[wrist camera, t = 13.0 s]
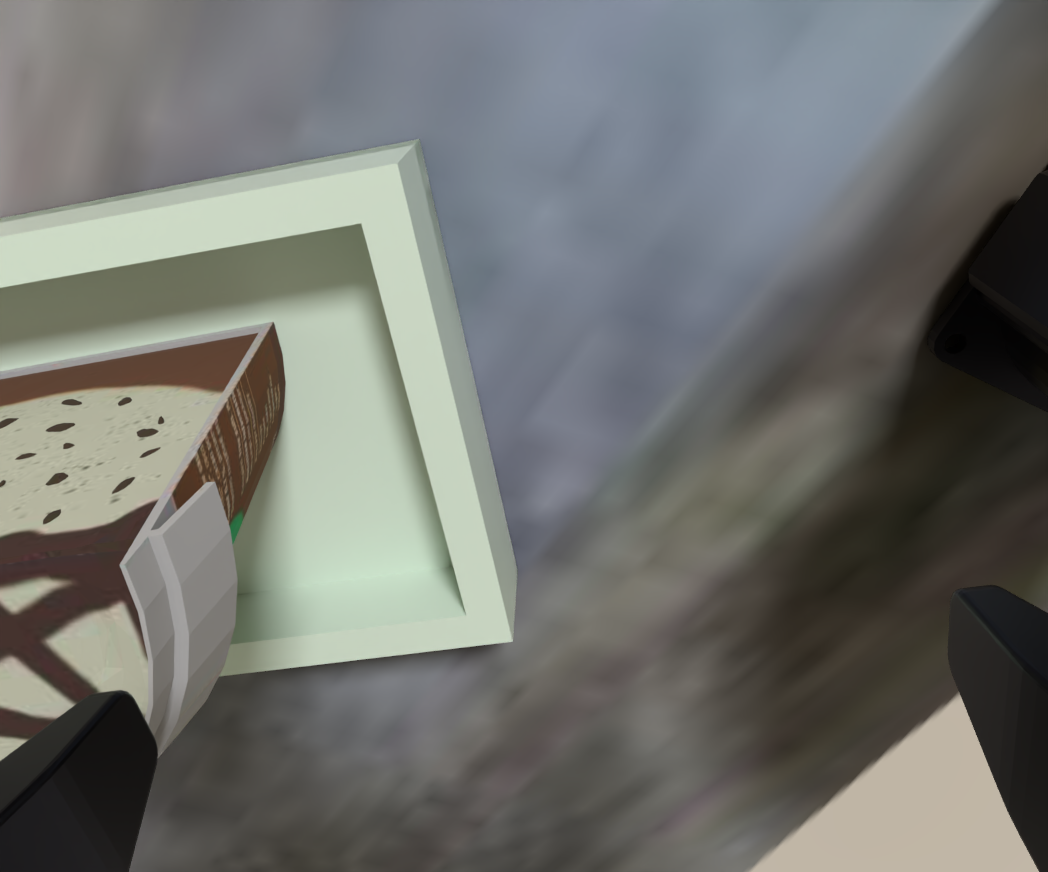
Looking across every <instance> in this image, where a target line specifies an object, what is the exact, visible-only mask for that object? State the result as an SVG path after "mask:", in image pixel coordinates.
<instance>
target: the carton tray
mask: <svg viewBox="0 0 1048 872" xmlns="http://www.w3.org/2000/svg"><path fill="white" fill-rule="evenodd" d="M269 322H274V324H275V328H276V332H277V335H278V339H279V343H280V346H281V350H282V354H283V362H284V372H285V381H286V386H285V402H284V412H283V417H282V421H281V425H280V429H279V433H278V436H277V439H276V441H275V444H274V446H273V449H272V451H271V453H270V456H269V458H268V461H267V463H266V466H265V468H264V471H263V473H262V475H261V478H260V480H259V483H258V485H257V488H256V490H255V493H254V495H253V497H252V500H251V502H250V505H249V507H248V510H247V512H246V514H245V517H244V519H243V522H242V524H241V527H240V529H239V532H238V534H237V536H236V539H235V541H234V544H233V551H234V558H235V565H236V572H237V579H238V581H237V601H236V622H235V628H234V632H233V635H232V639H231V643H230V647H229V651H228V654H227V658H226V662H225V666H224V668H223V669H222V671H221V673H220V675H219V676H228V675H236V674H244V673H253V672H261V671H270V670H278V669H286V668H295V667H303V666H312V665H320V664H328V663H337V662H345V661H354V660H362V659H370V658H379V657H387V656H396V655H404V654H413V653H421V652H429V651H438V650H446V649H455V648H463V647H471V646H480V645H488V644H497V643H505V642H513V632H514V617H515V603H516V588H517V574H518V570H517V566H516V561H515V557H514V553H513V548H512V544H511V539H510V535H509V531H508V526H507V522H506V517H505V513H504V509H503V504H502V500H501V495H500V491H499V487H498V482H497V478H496V473H495V469H494V465H493V460H492V456H491V451H490V447H489V443H488V438H487V434H486V429H485V425H484V421H483V416H482V412H481V408H480V403H479V399H478V394H477V390H476V386H475V381H474V377H473V372H472V368H471V364H470V359H469V355H468V350H467V346H466V342H465V337H464V333H463V328H462V324H461V320H460V315H459V311H458V306H457V302H456V298H455V293H454V289H453V284H452V280H451V276H450V271H449V267H448V262H447V258H446V254H445V249H444V245H443V240H442V236H441V232H440V227H439V223H438V218H437V214H436V210H435V205H434V201H433V196H432V192H431V188H430V183H429V179H428V174H427V170H426V166H425V161H424V157H423V152H422V148H421V144H420V139H417V140H412V141H407V142H401V143H396V144H391V145H385V146H380V147H375V148H369V149H364V150H359V151H353V152H348V153H343V154H338V155H332V156H327V157H322V158H316V159H311V160H306V161H300V162H295V163H290V164H285V165H279V166H274V167H269V168H263V169H258V170H253V171H247V172H242V173H237V174H232V175H226V176H221V177H216V178H210V179H205V180H200V181H194V182H189V183H184V184H179V185H173V186H168V187H163V188H157V189H152V190H147V191H141V192H136V193H131V194H126V195H120V196H115V197H110V198H104V199H99V200H94V201H88V202H83V203H78V204H73V205H67V206H62V207H57V208H51V209H46V210H41V211H35V212H30V213H25V214H20V215H14V216H9V217H4V218H0V371H4V370H10V369H15V368H21V367H26V366H32V365H37V364H43V363H48V362H54V361H59V360H65V359H70V358H76V357H81V356H87V355H92V354H98V353H103V352H109V351H114V350H120V349H125V348H131V347H136V346H142V345H147V344H153V343H158V342H164V341H169V340H175V339H180V338H186V337H191V336H197V335H202V334H208V333H213V332H219V331H224V330H230V329H235V328H241V327H246V326H252V325H257V324H263V323H269Z"/></svg>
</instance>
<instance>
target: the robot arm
mask: <svg viewBox="0 0 1048 872" xmlns="http://www.w3.org/2000/svg"><path fill="white" fill-rule="evenodd" d="M968 275H969V279H968V280H967V281H966V283H965V284H964V285H963V287H962V288H961V290H960V291H959V292H958V294H957V295H956V296H955V298H954V299H953V301H952V302H951V303H950V305H949V306H948V307H947V309H946V310H945V312H944V313H943V314H942V316H941V317H940V318H939V320H938V321H937V323H936V324H935V325H934V327H933V328H932V329H931V332H930V334H929V336H928V346H929V349H930V351H931V352H932V353H933V354H934V355H935V356H936V357H937V358H939V359H940V360H941V361H942V362H945V363H947V364H949V365H951V366H953V367H955V368H957V369H959V370H961V371H963V372H965V373H967V374H969V375H972V376H974V377H976V378H978V379H980V380H982V381H984V382H986V383H988V384H990V385H992V386H994V387H997V388H999V389H1001V390H1003V391H1005V392H1007V393H1009V394H1011V395H1013V396H1015V397H1017V398H1019V399H1021V400H1024V401H1026V402H1028V403H1030V404H1032V405H1034V406H1036V407H1038V408H1040V409H1042V410H1044V411H1046V412H1048V170H1047V171H1044V172H1042V173H1039V174H1038V175H1037V176H1036V177H1035V178H1034V180H1033V181H1032V182H1031V184H1030V185H1029V187H1028V188H1027V189H1026V191H1025V192H1024V193H1023V195H1022V196H1021V198H1020V199H1019V200H1018V202H1017V203H1016V205H1015V206H1014V207H1013V209H1012V210H1011V211H1010V213H1009V214H1008V216H1007V217H1006V218H1005V220H1004V221H1003V222H1002V224H1001V225H1000V227H999V228H998V229H997V231H996V232H995V234H994V235H993V236H992V238H991V239H990V240H989V242H988V243H987V245H986V246H985V247H984V249H983V250H982V252H981V253H980V254H979V256H978V257H977V258H976V260H975V261H974V263H973V264H972V265H971V267H970V268H969V271H968ZM954 334H960V338H959V340H958V342H957V343H956V344H955V345H954V346H952V347H948V348H946V347H945V346H944V344H945V342H946V339H947V338H949V337H950V336H951V335H954ZM948 659H949V664H950V668H951V672H952V675H953V677H954V680H955V682H956V685H957V687H958V690H959V692H960V695H961V697H962V700H963V702H964V705H965V707H966V710H967V712H968V715H969V717H970V720H971V722H972V725H973V727H974V730H975V732H976V735H977V737H978V740H979V742H980V745H981V747H982V750H983V752H984V755H985V757H986V760H987V762H988V765H989V767H990V770H991V772H992V775H993V777H994V780H995V782H996V785H997V787H998V790H999V792H1000V794H1001V797H1002V799H1003V802H1004V804H1005V806H1006V808H1007V811H1008V812H1009V815H1010V817H1011V819H1012V821H1013V823H1014V825H1015V827H1016V829H1017V831H1018V833H1019V835H1020V837H1021V839H1022V841H1023V842H1024V844H1025V846H1026V848H1027V850H1028V852H1029V854H1030V856H1031V857H1032V859H1033V861H1034V863H1035V865H1036V867H1037V869H1038V870H1039V872H1048V613H1046V612H1045V611H1043V610H1041V609H1039V608H1037V607H1036V606H1034V605H1032V604H1030V603H1028V602H1027V601H1025V600H1023V599H1021V598H1019V597H1018V596H1016V595H1014V594H1012V593H1010V592H1009V591H1007V590H1005V589H1003V588H1001V587H999V586H995V585H987V586H978V587H970V588H962V589H958V590H956V591H955V592H954V593H953V595H952V597H951V601H950V616H949V636H948ZM157 760H158V747H157V743H156V739H155V737H154V735H153V733H152V731H151V729H150V727H149V725H148V724H147V722H146V720H145V718H144V716H143V714H142V712H141V710H140V708H139V706H138V704H137V702H136V700H135V699H134V697H133V696H132V695H131V694H130V693H129V692H127V691H123V690H115V691H107V692H99V693H94V694H91V695H88V696H86V697H85V698H84V699H82V700H81V701H80V702H78V703H77V704H76V705H74V706H73V707H72V708H70V709H69V710H68V711H66V712H65V713H64V714H62V715H61V716H60V717H58V718H57V719H56V720H54V721H53V722H52V723H50V724H49V725H47V726H46V727H45V728H43V729H42V730H41V731H39V732H38V733H37V734H35V735H34V736H33V737H31V738H30V739H29V740H27V741H26V742H25V743H23V744H22V745H21V746H19V747H18V748H17V749H15V750H14V751H13V752H11V753H10V754H9V755H7V756H6V757H5V758H3V759H2V760H1V761H0V872H129V868H130V865H131V861H132V857H133V853H134V849H135V846H136V842H137V838H138V834H139V830H140V826H141V823H142V819H143V815H144V811H145V807H146V803H147V800H148V796H149V792H150V788H151V784H152V781H153V777H154V773H155V769H156V765H157Z"/></svg>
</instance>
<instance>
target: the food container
mask: <svg viewBox="0 0 1048 872" xmlns="http://www.w3.org/2000/svg"><path fill="white" fill-rule="evenodd" d="M285 386H286V381H285V372H284V362H283V354H282V350H281V346H280V343H279V339H278V335H277V332H276V328H275V324H274V322H269V323H263V324H257V325H252V326H246V327H241V328H235V329H230V330H224V331H219V332H213V333H208V334H202V335H197V336H191V337H186V338H180V339H175V340H169V341H164V342H158V343H153V344H147V345H142V346H136V347H131V348H125V349H120V350H114V351H109V352H103V353H98V354H92V355H87V356H81V357H76V358H70V359H65V360H59V361H54V362H48V363H43V364H37V365H32V366H26V367H21V368H15V369H10V370H4V371H0V761H1V760H2V759H3V758H5V757H6V756H7V755H9V754H10V753H11V752H13V751H14V750H15V749H17V748H18V747H19V746H21V745H22V744H23V743H25V742H26V741H27V740H29V739H30V738H31V737H33V736H34V735H35V734H37V733H38V732H39V731H41V730H42V729H43V728H45V727H46V726H47V725H49V724H50V723H52V722H53V721H54V720H56V719H57V718H58V717H60V716H61V715H62V714H64V713H65V712H66V711H68V710H69V709H70V708H72V707H73V706H74V705H76V704H77V703H78V702H80V701H81V700H82V699H84V698H85V697H86V696H88V695H91V694H94V693H99V692H107V691H115V690H123V691H127V692H129V693H130V694H131V695H132V696H133V697H134V699H135V700H136V702H137V704H138V706H139V708H140V710H141V712H142V714H143V716H144V718H145V720H146V722H147V724H148V725H149V727H150V729H151V731H152V733H153V735H154V737H155V739H156V743H157V747H158V758H159V757H160V755H161V754H162V753H163V752H164V751H165V750H166V748H167V747H168V746H169V745H170V744H171V743H172V741H173V740H174V739H175V738H176V737H177V736H178V734H179V733H180V732H181V731H182V730H183V729H184V727H185V726H186V725H187V724H188V722H189V721H190V720H191V719H192V718H193V716H194V715H195V714H196V713H197V712H198V710H199V709H200V708H201V707H202V706H203V704H204V703H205V702H206V701H207V699H208V697H209V695H210V693H211V691H212V689H213V687H214V685H215V683H216V681H217V679H218V677H219V675H220V673H221V671H222V669H223V668H224V666H225V662H226V658H227V654H228V651H229V647H230V643H231V639H232V635H233V632H234V628H235V622H236V601H237V581H238V579H237V572H236V565H235V558H234V551H233V544H234V541H235V539H236V536H237V534H238V532H239V529H240V527H241V524H242V522H243V519H244V517H245V514H246V512H247V510H248V507H249V505H250V502H251V500H252V497H253V495H254V493H255V490H256V488H257V485H258V483H259V480H260V478H261V475H262V473H263V471H264V468H265V466H266V463H267V461H268V458H269V456H270V453H271V451H272V449H273V446H274V444H275V441H276V439H277V436H278V433H279V429H280V425H281V421H282V417H283V412H284V402H285Z"/></svg>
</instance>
